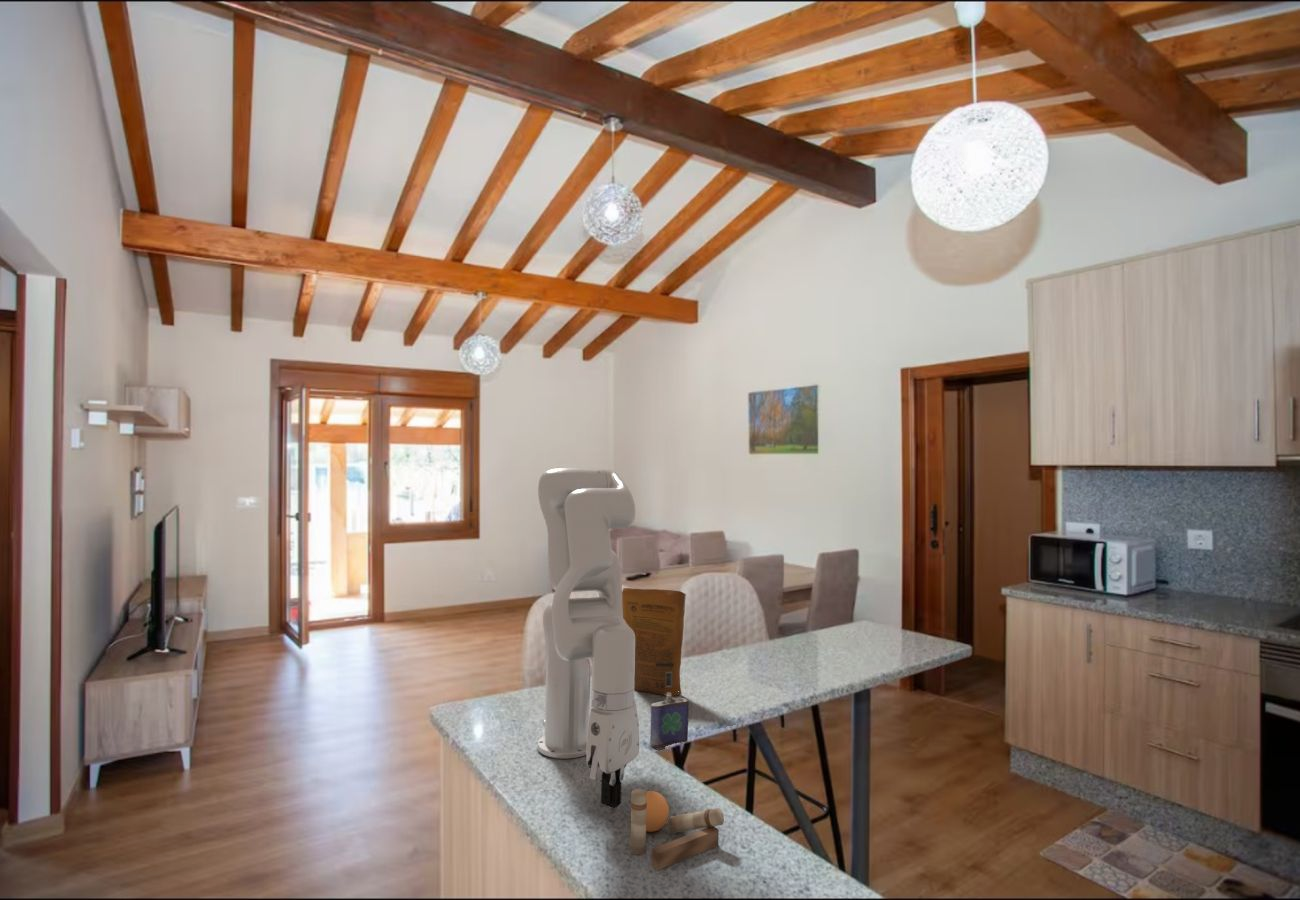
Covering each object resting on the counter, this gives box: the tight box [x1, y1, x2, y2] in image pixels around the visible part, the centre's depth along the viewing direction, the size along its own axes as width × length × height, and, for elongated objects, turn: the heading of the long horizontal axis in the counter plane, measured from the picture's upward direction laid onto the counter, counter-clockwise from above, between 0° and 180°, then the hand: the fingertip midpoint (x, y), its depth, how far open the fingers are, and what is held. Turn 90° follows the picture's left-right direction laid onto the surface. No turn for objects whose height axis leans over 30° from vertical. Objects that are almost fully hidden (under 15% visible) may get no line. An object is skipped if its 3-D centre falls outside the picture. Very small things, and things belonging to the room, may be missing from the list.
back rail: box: [651, 826, 720, 871], centre depth 104 cm, size 12×2×2 cm, turn 125°
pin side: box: [629, 788, 647, 856], centre depth 105 cm, size 2×2×9 cm
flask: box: [649, 692, 690, 748], centre depth 147 cm, size 9×3×11 cm, turn 117°
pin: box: [669, 807, 725, 834], centre depth 109 cm, size 2×2×9 cm
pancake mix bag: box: [622, 587, 687, 697], centre depth 182 cm, size 7×19×28 cm, turn 63°
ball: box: [645, 790, 670, 833], centre depth 111 cm, size 6×6×6 cm
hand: (610, 804), depth 116 cm, fingers closed
